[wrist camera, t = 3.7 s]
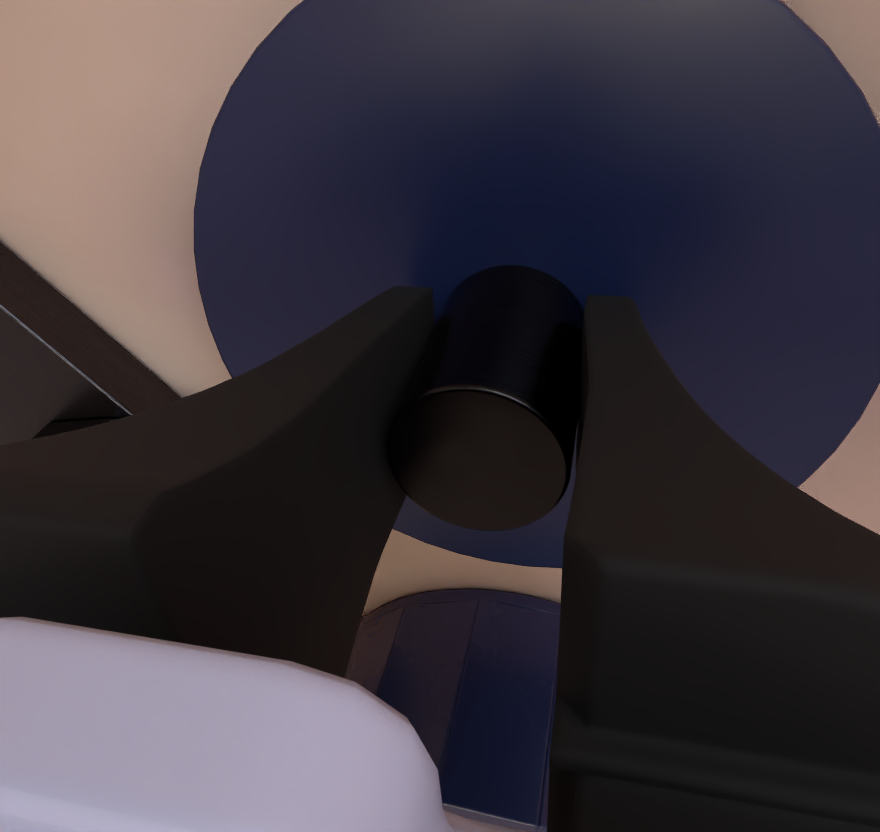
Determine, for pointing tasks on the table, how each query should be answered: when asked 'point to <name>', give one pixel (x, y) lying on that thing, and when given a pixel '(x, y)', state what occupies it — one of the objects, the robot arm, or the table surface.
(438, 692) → the pot
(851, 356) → the lid
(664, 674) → the robot arm
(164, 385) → the control block
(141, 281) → the table surface
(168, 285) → the table surface
